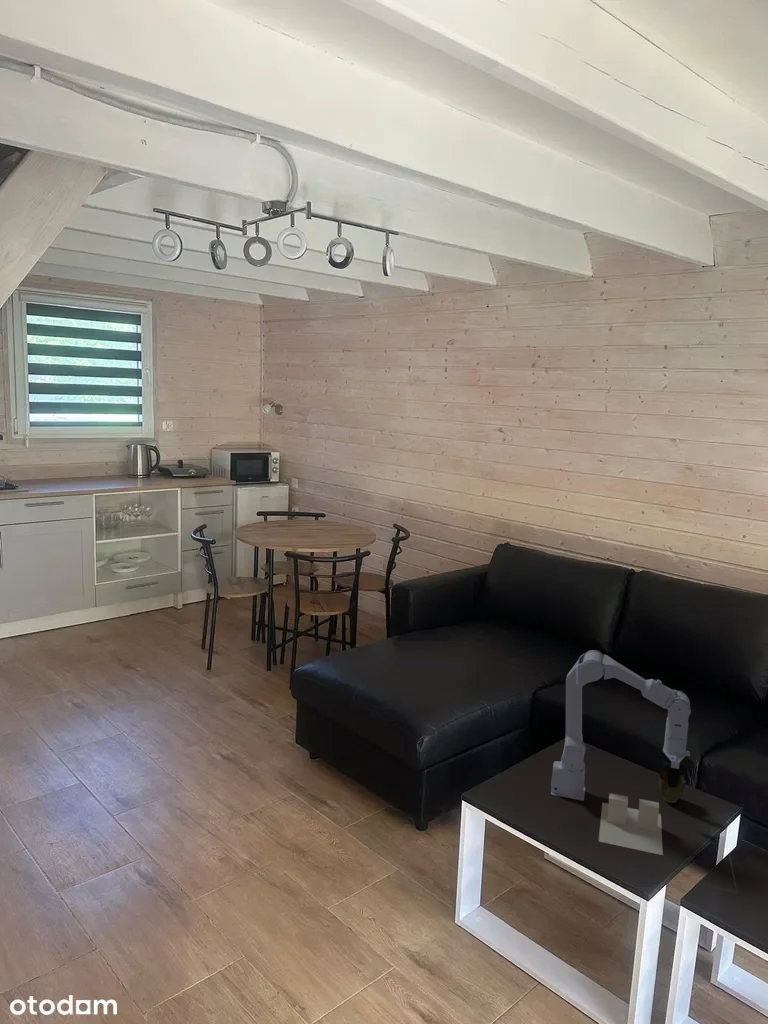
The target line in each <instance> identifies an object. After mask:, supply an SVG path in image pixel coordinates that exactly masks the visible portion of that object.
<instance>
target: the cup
mask: <svg viewBox="0 0 768 1024" xmlns="http://www.w3.org/2000/svg"><path fill="white" fill-rule="evenodd" d="M686 782H687V779H685V776H683V774H682V775H681V777H680V779H679V782H678V785H677V787H676V788H673V787H668V781H667V772H666V770H663V772H662V771H659V773H658V789H659V792H660V794H661V796H662V797H663V801H664V802H666V803H668V804H676V803H677V802H678V801H677V800H679V799H681V798H682V796H683V793H684V791H685V787H686Z"/></svg>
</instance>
